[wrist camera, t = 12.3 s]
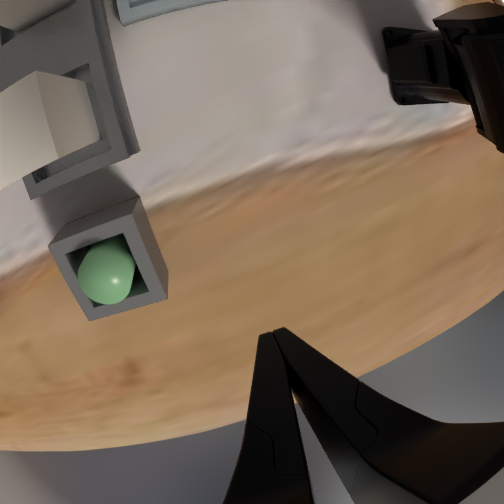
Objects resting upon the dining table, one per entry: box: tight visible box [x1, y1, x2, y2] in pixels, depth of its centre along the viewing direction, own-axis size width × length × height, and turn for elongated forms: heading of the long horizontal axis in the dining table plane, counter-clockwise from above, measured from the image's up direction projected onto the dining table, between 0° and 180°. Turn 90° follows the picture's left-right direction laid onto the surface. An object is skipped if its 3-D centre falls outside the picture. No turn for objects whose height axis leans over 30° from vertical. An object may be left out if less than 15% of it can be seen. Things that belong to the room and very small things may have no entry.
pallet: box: [0, 0, 140, 200], centre depth 12 cm, size 8×17×2 cm, turn 13°
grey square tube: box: [48, 196, 168, 321], centre depth 19 cm, size 6×6×4 cm
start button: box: [78, 234, 136, 304], centre depth 18 cm, size 3×3×3 cm
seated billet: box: [0, 71, 101, 190], centre depth 12 cm, size 4×4×7 cm
